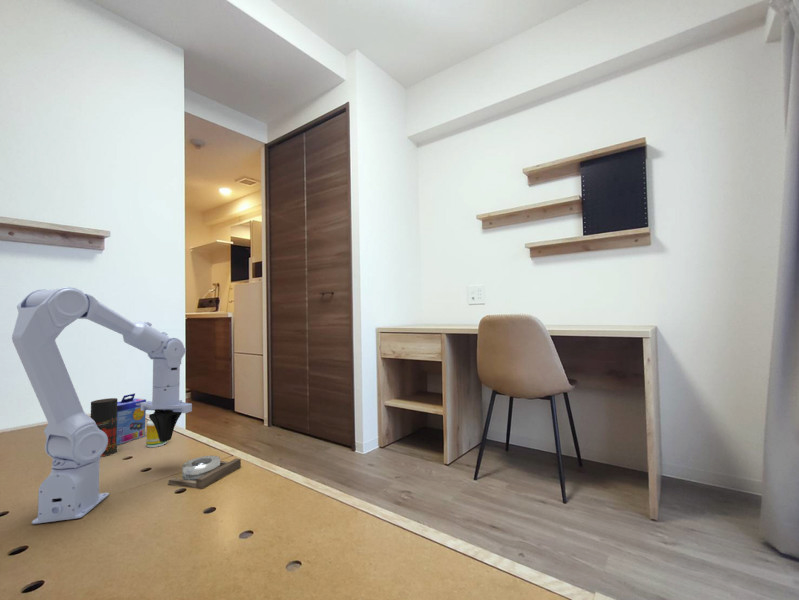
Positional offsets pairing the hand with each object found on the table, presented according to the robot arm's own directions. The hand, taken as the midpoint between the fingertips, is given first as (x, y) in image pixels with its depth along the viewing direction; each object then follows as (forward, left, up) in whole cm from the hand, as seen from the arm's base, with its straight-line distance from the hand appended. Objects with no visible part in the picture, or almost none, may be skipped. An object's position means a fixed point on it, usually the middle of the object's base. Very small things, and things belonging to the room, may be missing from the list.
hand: (165, 440), depth 90 cm
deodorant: (+19, +22, -8) cm, 30 cm away
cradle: (-6, -11, -7) cm, 15 cm away
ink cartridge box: (+31, +22, -8) cm, 39 cm away
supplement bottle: (+23, +10, -8) cm, 26 cm away
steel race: (-5, -10, -8) cm, 13 cm away
